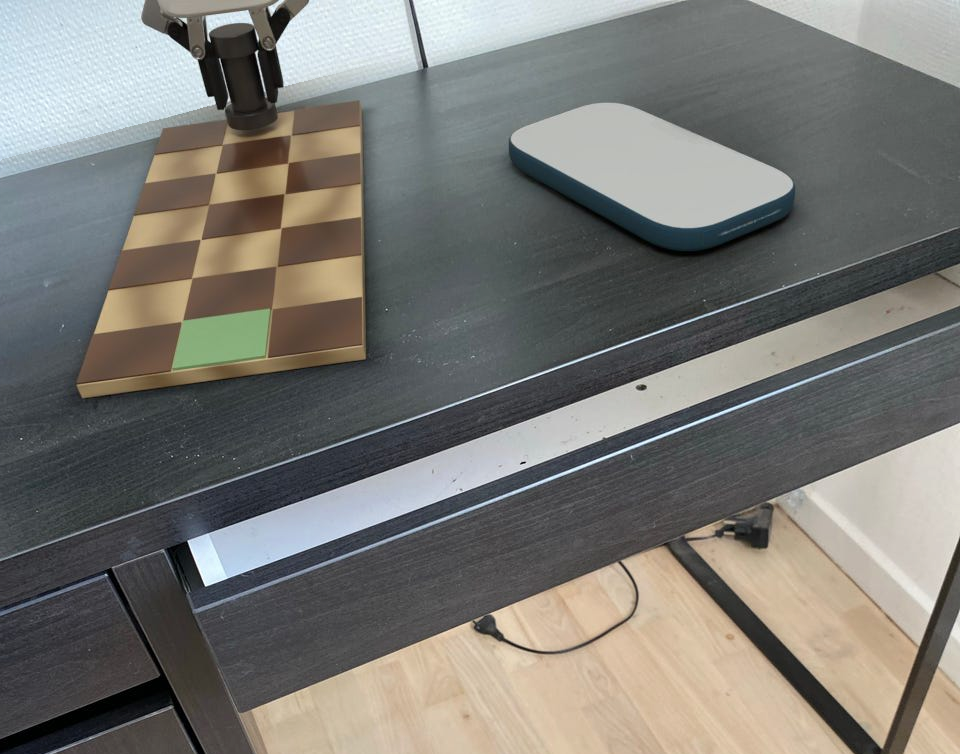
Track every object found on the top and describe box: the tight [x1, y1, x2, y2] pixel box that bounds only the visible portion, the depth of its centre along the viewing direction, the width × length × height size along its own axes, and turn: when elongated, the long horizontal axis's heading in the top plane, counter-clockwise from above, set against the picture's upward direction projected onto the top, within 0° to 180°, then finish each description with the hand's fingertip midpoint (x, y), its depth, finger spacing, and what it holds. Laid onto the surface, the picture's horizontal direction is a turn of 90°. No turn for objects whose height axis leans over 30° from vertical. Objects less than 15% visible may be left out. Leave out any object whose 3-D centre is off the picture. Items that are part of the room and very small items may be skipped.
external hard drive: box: [508, 101, 796, 252], centre depth 75 cm, size 24×12×2 cm, turn 31°
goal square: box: [172, 309, 271, 371], centre depth 65 cm, size 6×6×1 cm
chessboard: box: [75, 99, 367, 399], centre depth 78 cm, size 18×42×1 cm, turn 5°
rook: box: [208, 22, 278, 130], centre depth 87 cm, size 4×4×7 cm
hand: (247, 98), depth 88 cm, fingers closed on rook, 3 cm apart
